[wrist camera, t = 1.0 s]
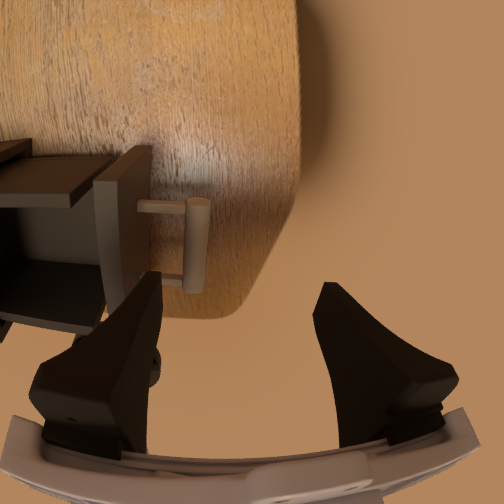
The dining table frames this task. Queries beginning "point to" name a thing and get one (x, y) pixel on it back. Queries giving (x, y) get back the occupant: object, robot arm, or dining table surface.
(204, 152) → the dining table surface
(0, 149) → the dark grey drawer unit
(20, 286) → the open drawer with handle
